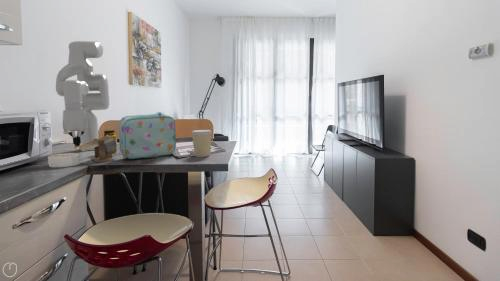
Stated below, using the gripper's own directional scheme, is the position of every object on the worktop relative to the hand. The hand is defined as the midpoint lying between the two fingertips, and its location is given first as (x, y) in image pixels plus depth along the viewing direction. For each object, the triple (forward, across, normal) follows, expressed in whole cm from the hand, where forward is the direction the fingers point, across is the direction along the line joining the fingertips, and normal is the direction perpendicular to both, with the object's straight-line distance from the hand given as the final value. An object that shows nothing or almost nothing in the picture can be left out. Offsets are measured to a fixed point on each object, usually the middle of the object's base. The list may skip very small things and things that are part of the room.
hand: (77, 145), depth 172 cm
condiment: (+7, -17, -8) cm, 20 cm away
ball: (+6, +11, +11) cm, 16 cm away
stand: (+7, -8, +11) cm, 15 cm away
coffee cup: (+7, -48, +35) cm, 60 cm away
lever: (+4, -7, +5) cm, 10 cm away
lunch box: (+7, -28, +19) cm, 34 cm away
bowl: (+7, +8, +11) cm, 15 cm away
